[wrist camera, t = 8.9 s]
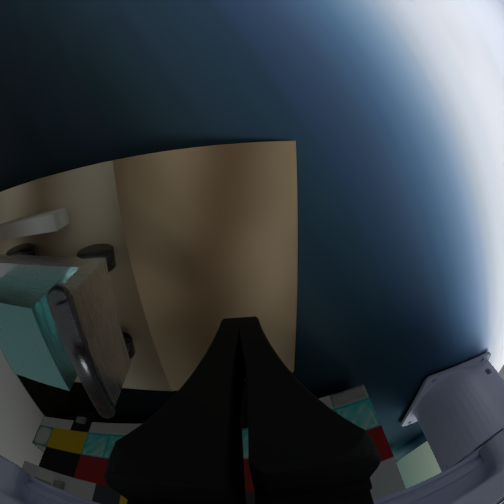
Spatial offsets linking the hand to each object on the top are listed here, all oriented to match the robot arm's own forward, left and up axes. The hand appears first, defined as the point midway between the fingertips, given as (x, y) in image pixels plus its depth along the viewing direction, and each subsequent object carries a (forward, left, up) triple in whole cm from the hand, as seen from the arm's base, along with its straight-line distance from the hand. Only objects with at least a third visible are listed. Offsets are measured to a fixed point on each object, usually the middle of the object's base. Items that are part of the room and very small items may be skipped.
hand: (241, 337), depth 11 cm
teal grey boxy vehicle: (+9, -1, -3) cm, 10 cm away
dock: (+6, 0, -5) cm, 8 cm away
